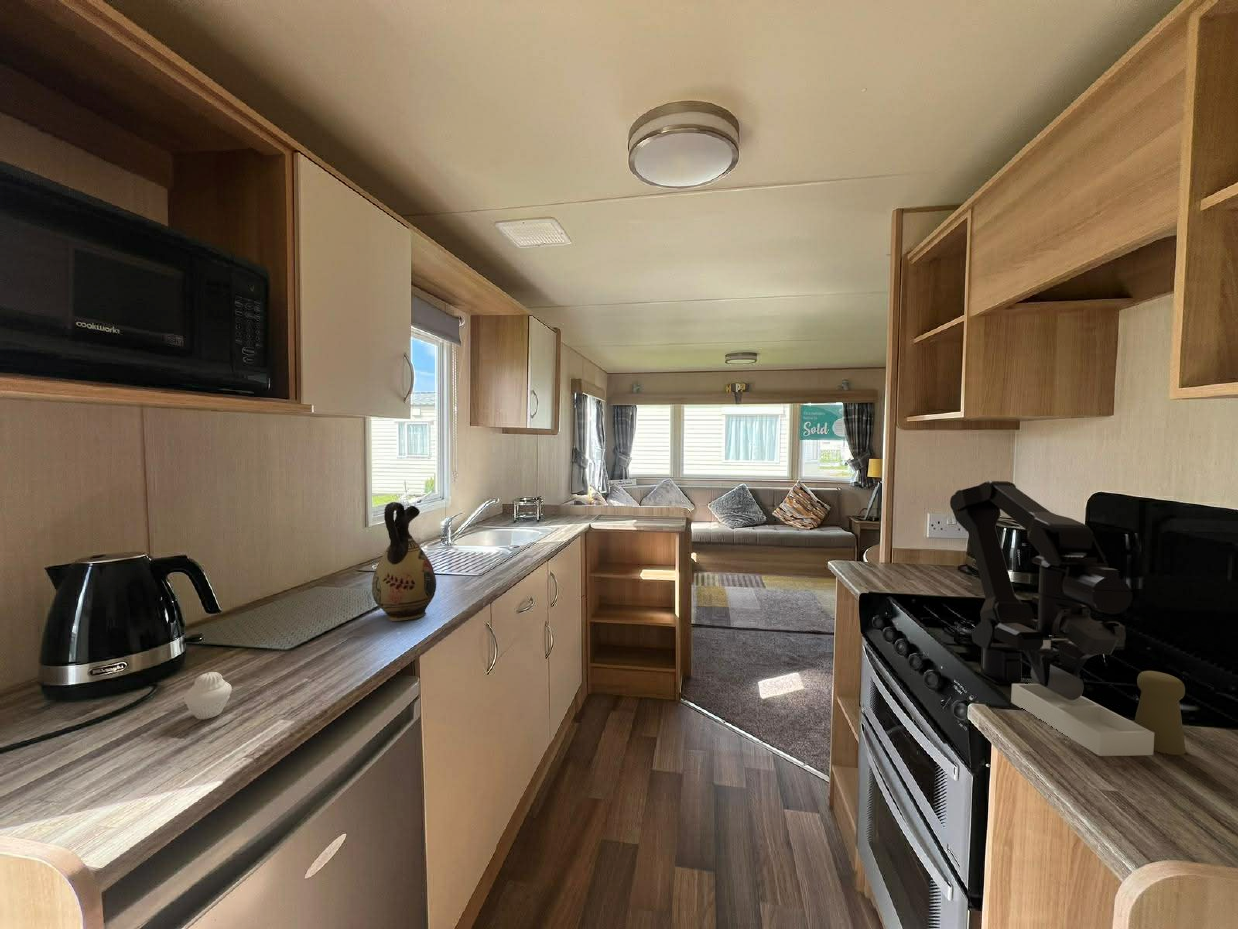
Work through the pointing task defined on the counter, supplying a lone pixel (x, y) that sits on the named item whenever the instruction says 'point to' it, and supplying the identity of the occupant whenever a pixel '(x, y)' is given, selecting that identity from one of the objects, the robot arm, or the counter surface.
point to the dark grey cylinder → (1062, 683)
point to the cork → (1161, 710)
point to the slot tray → (1085, 722)
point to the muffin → (208, 695)
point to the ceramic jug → (403, 569)
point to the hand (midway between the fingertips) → (1055, 685)
